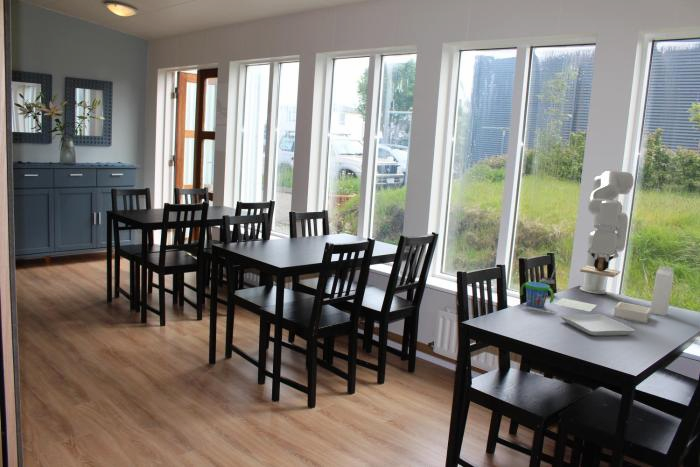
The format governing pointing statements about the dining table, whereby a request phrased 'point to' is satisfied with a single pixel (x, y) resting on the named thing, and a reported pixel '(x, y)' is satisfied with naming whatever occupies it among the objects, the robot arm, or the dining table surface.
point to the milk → (662, 290)
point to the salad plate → (597, 324)
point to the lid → (600, 269)
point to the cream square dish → (632, 312)
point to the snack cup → (536, 293)
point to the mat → (575, 304)
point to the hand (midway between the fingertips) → (600, 268)
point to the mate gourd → (549, 282)
